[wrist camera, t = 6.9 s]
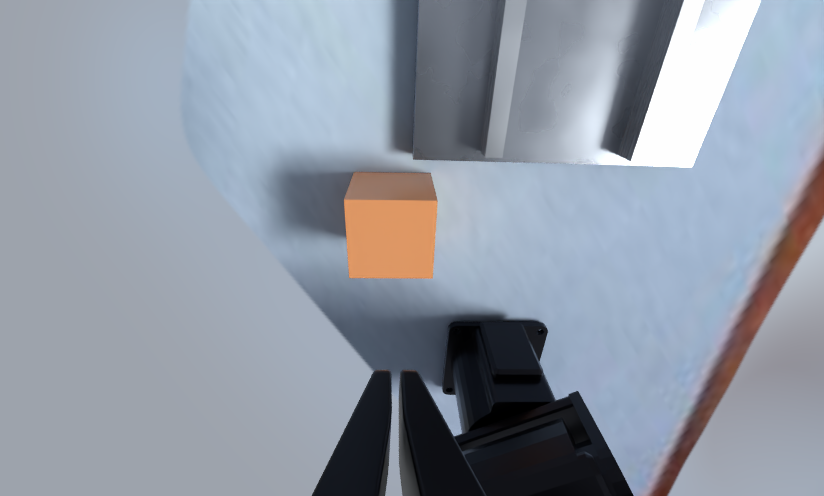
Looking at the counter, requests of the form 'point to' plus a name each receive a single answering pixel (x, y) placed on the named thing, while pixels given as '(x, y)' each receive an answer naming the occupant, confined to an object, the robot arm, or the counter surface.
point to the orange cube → (390, 225)
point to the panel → (572, 78)
